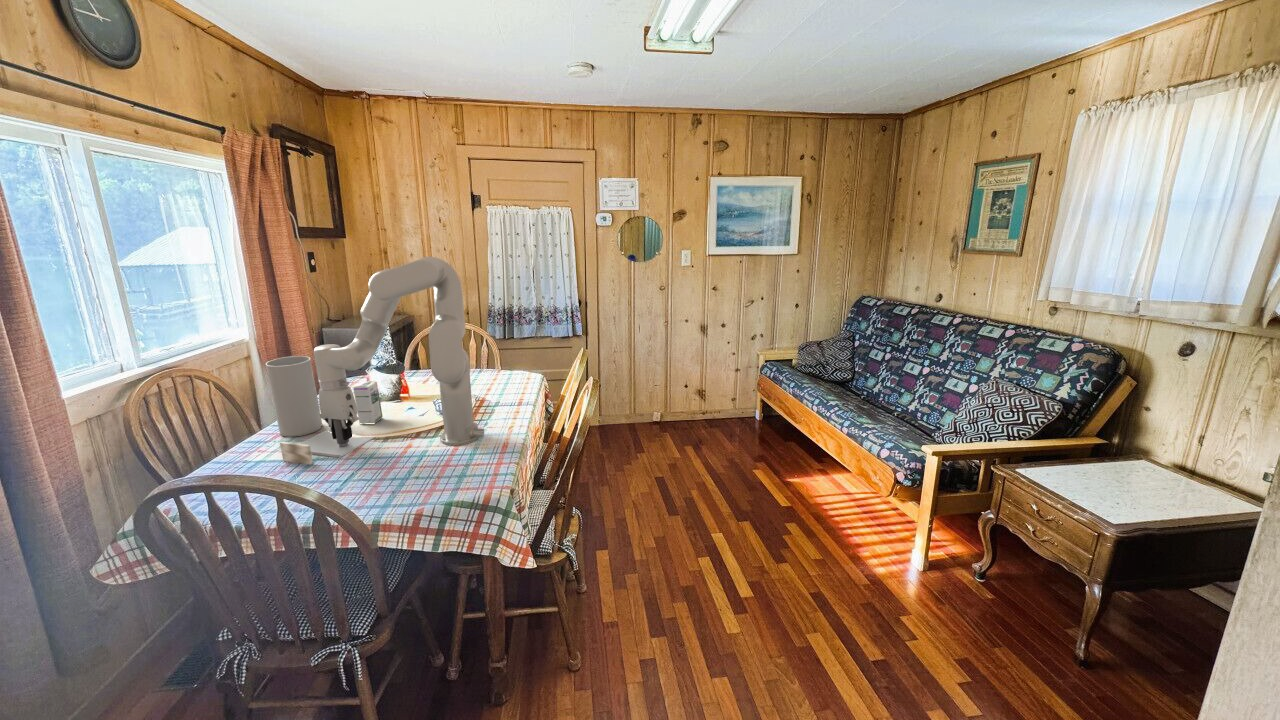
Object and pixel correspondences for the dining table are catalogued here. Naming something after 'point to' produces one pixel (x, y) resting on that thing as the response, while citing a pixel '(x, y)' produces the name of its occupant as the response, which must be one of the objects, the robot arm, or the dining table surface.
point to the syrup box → (367, 402)
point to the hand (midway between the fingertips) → (342, 437)
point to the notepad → (332, 445)
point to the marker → (339, 433)
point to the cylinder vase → (294, 395)
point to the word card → (296, 453)
